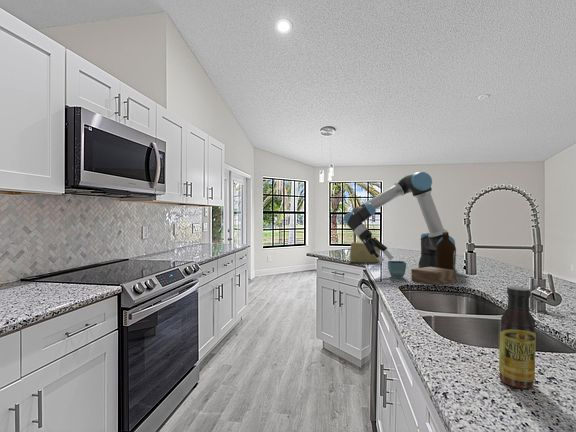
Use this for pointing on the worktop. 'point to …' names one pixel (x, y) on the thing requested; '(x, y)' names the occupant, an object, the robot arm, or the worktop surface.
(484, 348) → the worktop surface
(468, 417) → the worktop surface
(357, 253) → the cheese
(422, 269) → the walnut base
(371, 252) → the robot arm
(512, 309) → the sauce bottle
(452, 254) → the olive oil
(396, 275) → the flower pot
